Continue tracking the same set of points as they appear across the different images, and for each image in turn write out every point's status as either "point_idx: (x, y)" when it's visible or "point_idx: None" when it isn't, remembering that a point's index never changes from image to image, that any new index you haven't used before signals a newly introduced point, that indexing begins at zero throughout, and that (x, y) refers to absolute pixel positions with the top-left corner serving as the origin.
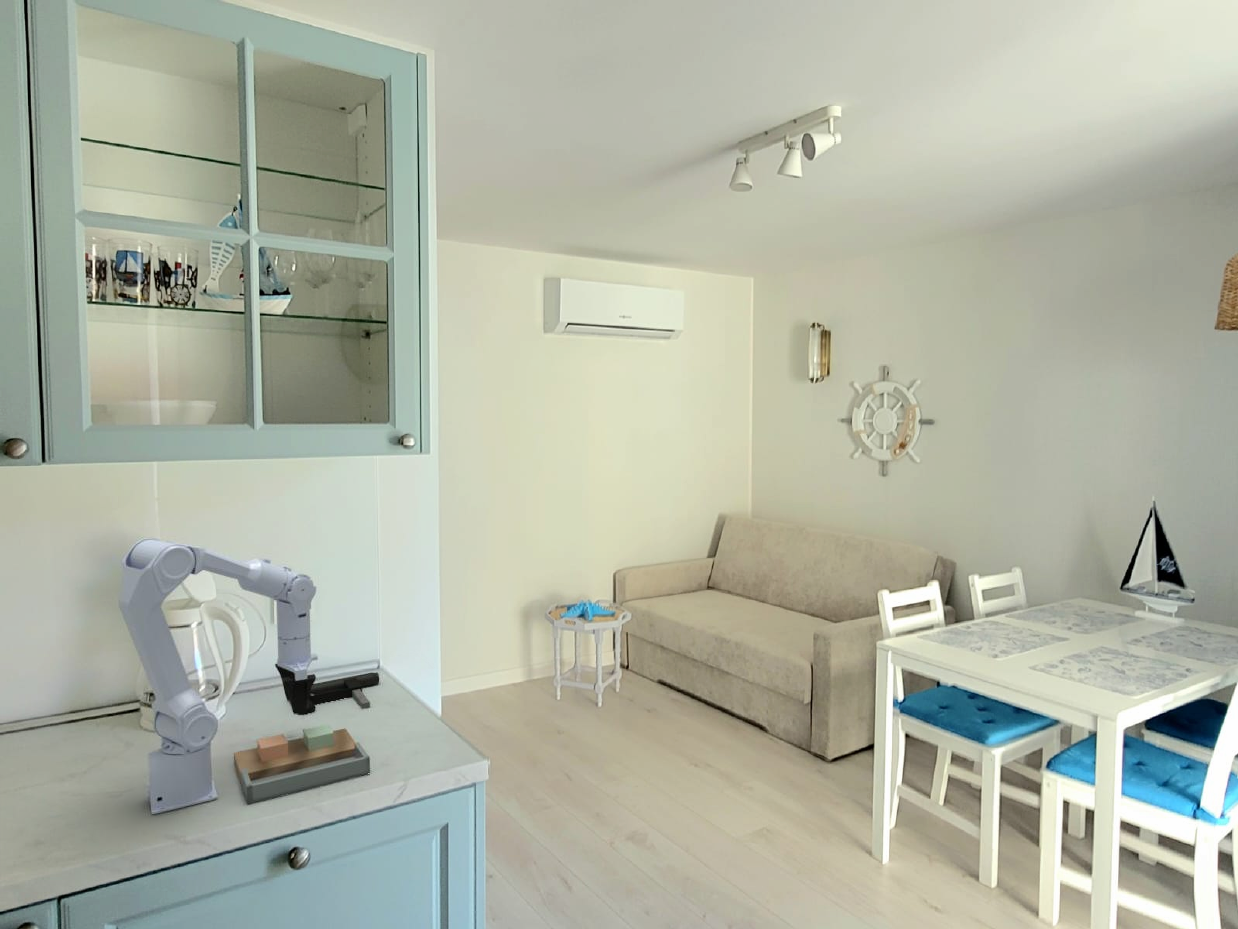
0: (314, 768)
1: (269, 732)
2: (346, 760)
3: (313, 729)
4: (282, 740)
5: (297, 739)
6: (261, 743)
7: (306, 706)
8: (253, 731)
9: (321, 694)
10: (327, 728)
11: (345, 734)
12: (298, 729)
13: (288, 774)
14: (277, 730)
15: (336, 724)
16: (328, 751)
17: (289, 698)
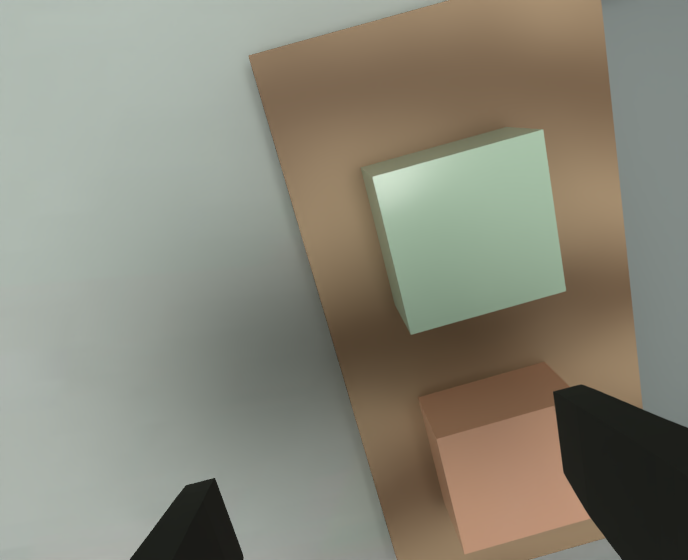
0: (628, 219)
1: (70, 476)
2: (610, 51)
3: (434, 271)
4: (532, 431)
5: (342, 341)
6: (528, 526)
7: (615, 400)
8: (42, 546)
9: None
10: (449, 176)
11: (356, 54)
12: (53, 343)
13: (638, 331)
14: (49, 444)
15: (7, 127)
16: (577, 156)
17: (236, 553)
